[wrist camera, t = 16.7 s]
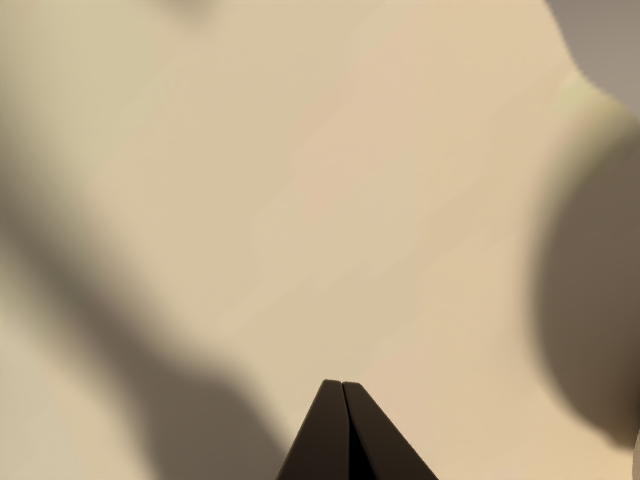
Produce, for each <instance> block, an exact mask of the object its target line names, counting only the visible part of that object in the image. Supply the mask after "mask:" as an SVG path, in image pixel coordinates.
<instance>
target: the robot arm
mask: <svg viewBox="0 0 640 480" xmlns="http://www.w3.org/2000/svg"><path fill="white" fill-rule="evenodd" d="M276 480H439V479H438V478H437V477H436V476H435V475H434V473H433V472H432V471H431V470H430V468H429V467H428V466H427V465H426V464H425V462H424V461H423V460H422V459H421V457H420V456H419V455H418V454H417V452H416V451H415V450H414V449H413V448H412V446H411V445H410V444H409V443H408V441H407V440H406V439H405V438H404V437H403V435H402V434H401V433H400V432H399V430H398V429H397V428H396V427H395V425H394V424H393V423H392V422H391V421H390V419H389V418H388V417H387V416H386V414H385V413H384V412H383V411H382V410H381V408H380V407H379V406H378V405H377V403H376V402H375V401H374V400H373V399H372V397H371V396H370V395H369V394H368V392H367V391H366V390H365V389H364V387H363V386H362V385H361V384H359V383H355V382H346V381H345V382H343V383H341V382H340V381H337V380H328V379H325V380H324V381H323V382H322V384H321V386H320V388H319V390H318V392H317V394H316V396H315V398H314V401H313V403H312V405H311V407H310V409H309V411H308V413H307V415H306V417H305V419H304V421H303V424H302V426H301V428H300V430H299V432H298V434H297V436H296V438H295V440H294V442H293V444H292V446H291V449H290V451H289V453H288V455H287V457H286V459H285V461H284V463H283V465H282V467H281V469H280V471H279V474H278V476H277V478H276Z"/></svg>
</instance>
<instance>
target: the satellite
mask: <svg viewBox="0 0 640 480" xmlns="http://www.w3.org/2000/svg"><path fill="white" fill-rule="evenodd" d="M632 476H633V480H640V430H639V433H638V436H637V440H636V444H635V449H634V455H633V468H632Z"/></svg>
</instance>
